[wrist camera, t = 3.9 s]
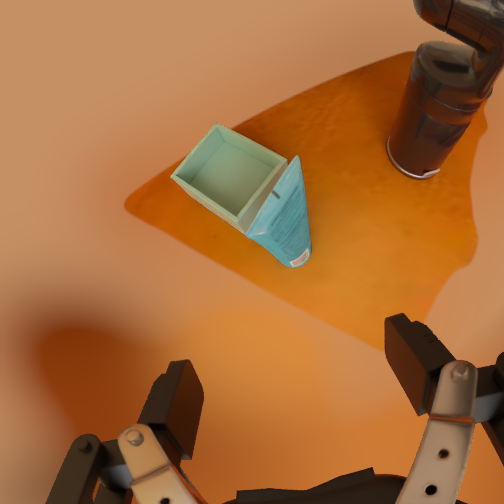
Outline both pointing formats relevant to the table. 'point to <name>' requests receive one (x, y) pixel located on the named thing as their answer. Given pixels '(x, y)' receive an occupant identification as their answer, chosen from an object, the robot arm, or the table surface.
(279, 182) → the tube
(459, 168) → the table surface
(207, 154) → the open pale green box
